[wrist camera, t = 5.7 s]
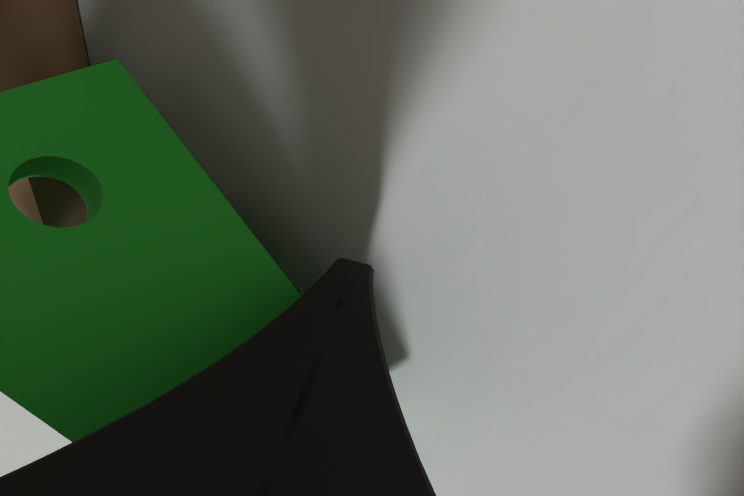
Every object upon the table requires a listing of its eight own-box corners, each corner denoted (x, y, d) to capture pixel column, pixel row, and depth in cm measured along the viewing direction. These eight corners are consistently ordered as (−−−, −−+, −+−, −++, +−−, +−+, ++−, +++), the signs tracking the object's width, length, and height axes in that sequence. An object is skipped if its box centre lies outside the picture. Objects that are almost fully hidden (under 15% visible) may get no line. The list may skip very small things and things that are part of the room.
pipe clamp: (75, 131, 9) (-207, 239, 6) (124, 55, 7) (-310, 172, 3) (321, 412, 13) (232, 560, 10) (404, 428, 11) (322, 628, 8)
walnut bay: (630, -287, 5) (744, -471, 3) (358, 467, 15) (348, 524, 13) (-97, -451, 5) (-388, -711, 3) (129, 405, 15) (90, 454, 13)
